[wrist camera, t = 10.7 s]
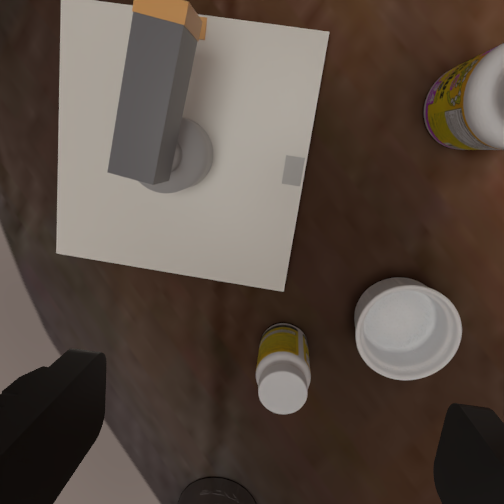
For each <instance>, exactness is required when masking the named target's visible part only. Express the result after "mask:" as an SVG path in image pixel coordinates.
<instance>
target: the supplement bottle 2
mask: <svg viewBox="0 0 504 504" xmlns="http://www.w3.org/2000/svg"><path fill="white" fill-rule="evenodd" d="M424 121H425V125H426V128H427V130H428V132H429V133H430V135H431V136H432V137H433V138H434V139H435V140H436V141H437V142H438V143H440V144H442V145H443V146H446V147H448V148H452V149H459V150H504V43H503V44H501V45H499V46H497V47H495V48H493V49H491V50H489V51H487V52H485V53H483V54H481V55H478V56H476V57H475V58H472V59H470V60H468V61H466V62H464V63H462V64H460V65H458V66H456V67H454V68H452V69H451V70H449V71H448V72H446V73H445V74H443V75H442V76H441V77H440V78H439V79H438V80H437V81H436V82H435V83H434V85H433V86H432V87H431V89H430V91H429V93H428V95H427V97H426V100H425V105H424Z"/></svg>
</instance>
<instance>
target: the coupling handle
mask: <svg viewBox="0 0 504 504" xmlns="http://www.w3.org/2000/svg"><path fill="white" fill-rule="evenodd" d="M132 12H133V16H132V22H131V29H130V35H129V41H128V47H127V53H126V60H125V66H124V72H123V78H122V85H121V91H120V97H119V103H118V109H117V116H116V122H115V128H114V134H113V140H112V147H111V153H110V159H109V165H108V171H107V172H108V173H111V174H115V175H119V176H122V177H126V178H130V179H133V180H137V181H140V182H144V183H148V184H151V185H155V184H159V183H163V182H167V181H169V179H170V174H171V172H173V171H175V170H176V169H177V168H178V167H179V165H180V163H181V160H182V150H181V147H180V145H179V143H178V141H177V140H178V135H179V130H180V125H181V120H182V115H183V111H184V106H185V101H186V96H187V91H188V86H189V81H190V76H191V71H192V66H193V61H194V56H195V52H196V47H197V42H199V37H200V32H201V27H202V20H201V19H200V17H199V16H198V14H197V13H196V11H195V10H194V9H193V7H192V6H191V4H190V3H189V2H188V1H184V0H134V2H133V8H132Z"/></svg>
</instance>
